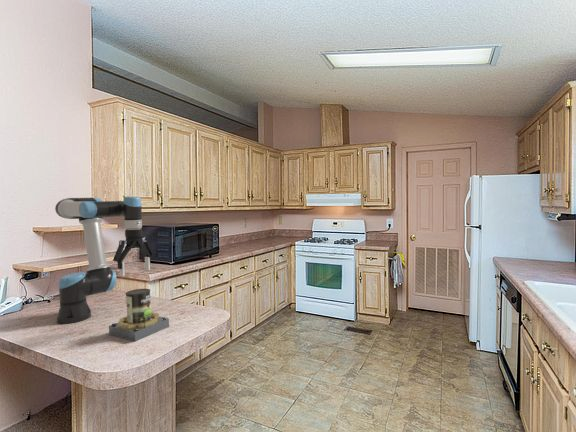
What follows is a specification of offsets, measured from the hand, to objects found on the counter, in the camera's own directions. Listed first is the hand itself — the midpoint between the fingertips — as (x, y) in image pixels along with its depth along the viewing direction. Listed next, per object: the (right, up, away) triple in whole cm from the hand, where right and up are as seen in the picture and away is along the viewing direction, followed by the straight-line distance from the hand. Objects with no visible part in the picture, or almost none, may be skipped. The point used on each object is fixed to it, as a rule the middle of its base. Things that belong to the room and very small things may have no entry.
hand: (135, 272), depth 156 cm
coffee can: (+5, -22, -6) cm, 23 cm away
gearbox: (+5, -26, -6) cm, 27 cm away
